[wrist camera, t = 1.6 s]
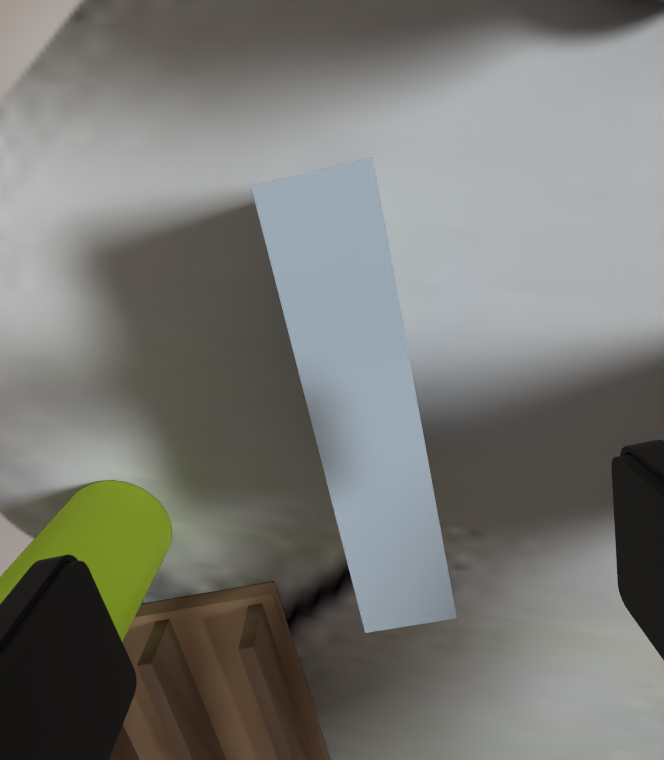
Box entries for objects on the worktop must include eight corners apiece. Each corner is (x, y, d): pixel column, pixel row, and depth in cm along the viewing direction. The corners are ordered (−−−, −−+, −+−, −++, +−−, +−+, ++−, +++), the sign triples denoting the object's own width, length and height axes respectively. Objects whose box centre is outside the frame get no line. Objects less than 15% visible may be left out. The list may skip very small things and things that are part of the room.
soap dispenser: (182, 584, 30) (-86, 1235, 11) (61, 559, 30) (-430, 1192, 11) (198, 497, 28) (-94, 1104, 9) (68, 469, 28) (-510, 1045, 9)
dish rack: (274, 581, 30) (264, 637, 26) (335, 775, 35) (334, 845, 31) (60, 618, 31) (21, 676, 27) (149, 800, 36) (127, 871, 32)
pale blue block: (358, 175, 23) (372, 157, 13) (413, 458, 27) (456, 618, 17) (291, 191, 23) (251, 186, 13) (356, 468, 28) (365, 632, 17)
